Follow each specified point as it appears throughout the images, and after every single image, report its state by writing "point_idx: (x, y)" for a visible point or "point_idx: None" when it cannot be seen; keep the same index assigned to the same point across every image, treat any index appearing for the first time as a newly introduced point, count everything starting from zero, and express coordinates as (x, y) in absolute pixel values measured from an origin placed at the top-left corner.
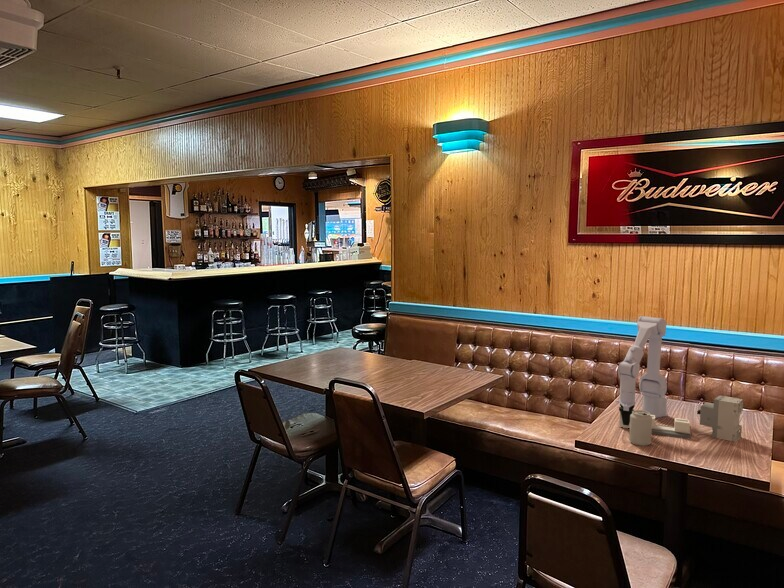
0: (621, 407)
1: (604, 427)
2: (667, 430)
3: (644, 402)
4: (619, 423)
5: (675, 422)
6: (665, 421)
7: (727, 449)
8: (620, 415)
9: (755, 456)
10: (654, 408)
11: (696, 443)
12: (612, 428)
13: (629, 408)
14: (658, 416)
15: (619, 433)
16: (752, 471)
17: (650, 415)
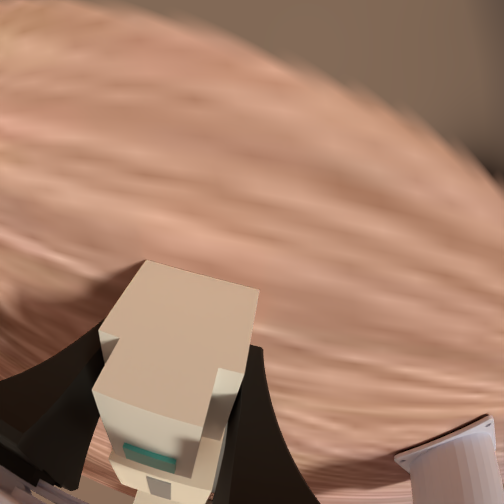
0: (17, 452)
1: (86, 110)
2: None
3: (469, 498)
4: (129, 284)
5: (134, 500)
6: (349, 474)
7: (100, 470)
8: (112, 362)
9: (91, 476)
10: (415, 499)
11: (99, 451)
12: (86, 189)
13: (55, 484)
14: (404, 469)
15: (11, 227)
16: None
17: (183, 498)
